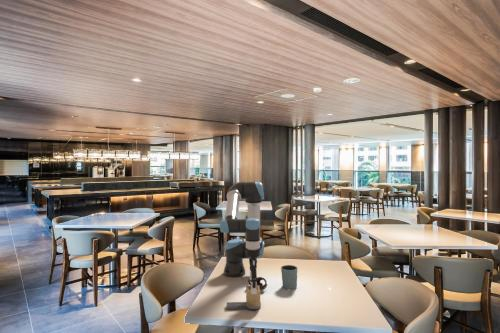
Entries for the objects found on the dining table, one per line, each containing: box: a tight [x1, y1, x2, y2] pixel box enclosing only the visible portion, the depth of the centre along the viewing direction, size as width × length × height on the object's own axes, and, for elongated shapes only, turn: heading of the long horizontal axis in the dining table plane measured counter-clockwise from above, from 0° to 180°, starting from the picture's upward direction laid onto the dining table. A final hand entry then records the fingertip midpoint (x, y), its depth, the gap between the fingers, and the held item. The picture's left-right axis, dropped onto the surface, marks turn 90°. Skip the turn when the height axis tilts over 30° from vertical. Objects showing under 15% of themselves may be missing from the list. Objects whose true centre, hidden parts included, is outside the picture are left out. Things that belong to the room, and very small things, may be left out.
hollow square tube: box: [245, 285, 261, 307], centre depth 157 cm, size 7×7×8 cm
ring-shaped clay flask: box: [247, 276, 268, 292], centre depth 181 cm, size 12×10×8 cm
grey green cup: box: [280, 264, 298, 291], centre depth 184 cm, size 10×10×12 cm
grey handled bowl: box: [226, 301, 262, 312], centre depth 157 cm, size 8×18×7 cm, turn 93°
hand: (253, 288), depth 157 cm, fingers open, 13 cm apart
